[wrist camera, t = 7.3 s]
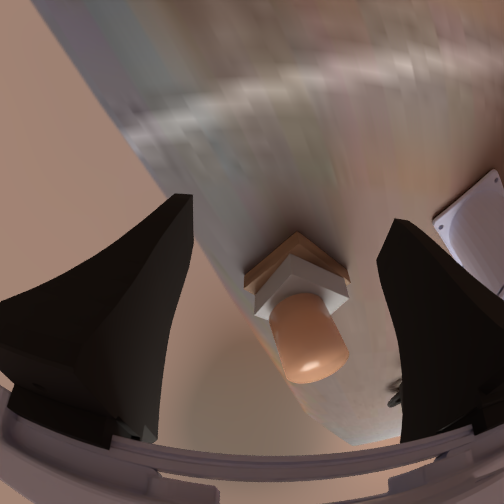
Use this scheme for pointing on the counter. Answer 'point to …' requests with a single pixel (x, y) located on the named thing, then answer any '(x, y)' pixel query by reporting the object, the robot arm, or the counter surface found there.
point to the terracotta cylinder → (307, 338)
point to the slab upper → (300, 286)
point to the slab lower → (293, 246)
